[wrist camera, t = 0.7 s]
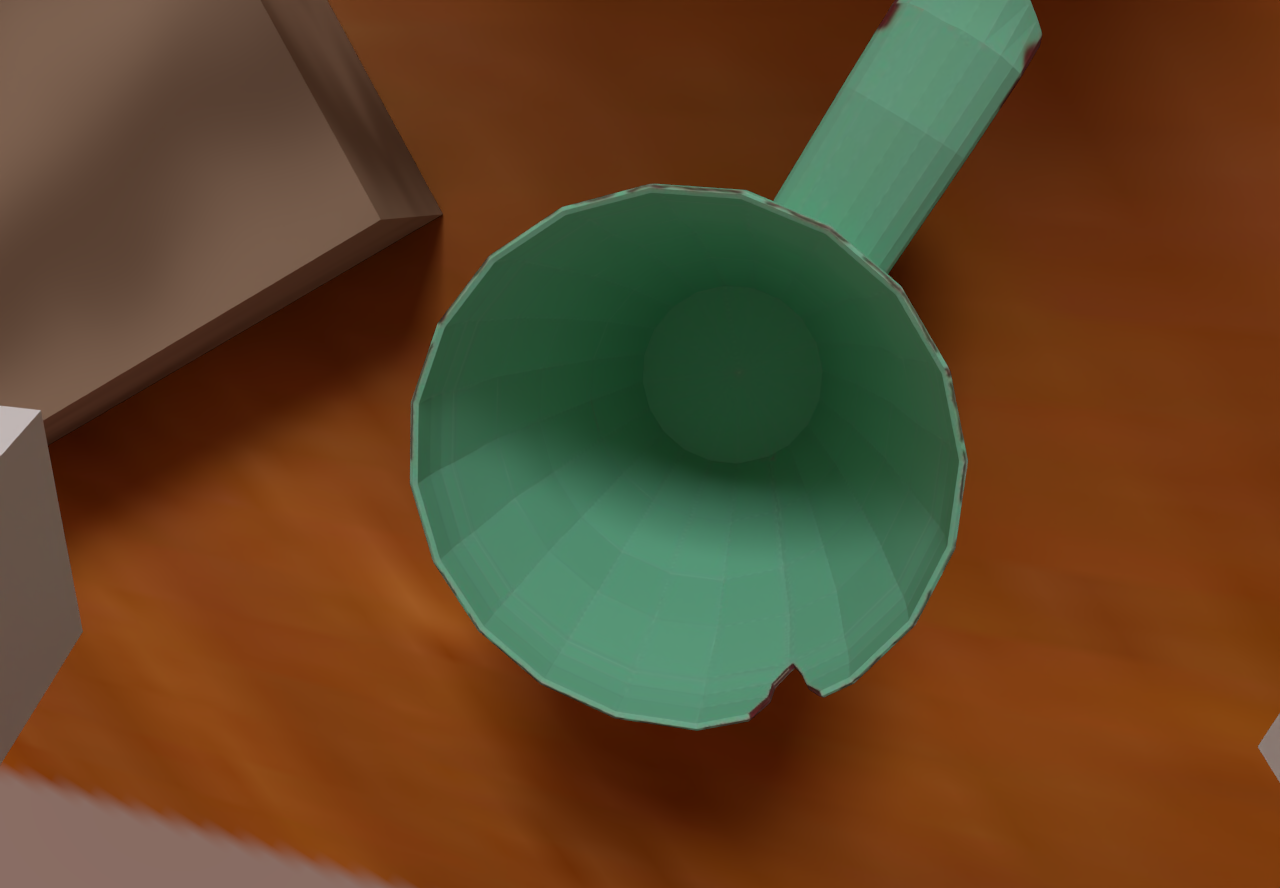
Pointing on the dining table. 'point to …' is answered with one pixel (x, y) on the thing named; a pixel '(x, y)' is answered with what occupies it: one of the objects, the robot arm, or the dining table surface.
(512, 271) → the mug
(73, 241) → the plinth
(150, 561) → the dining table surface
